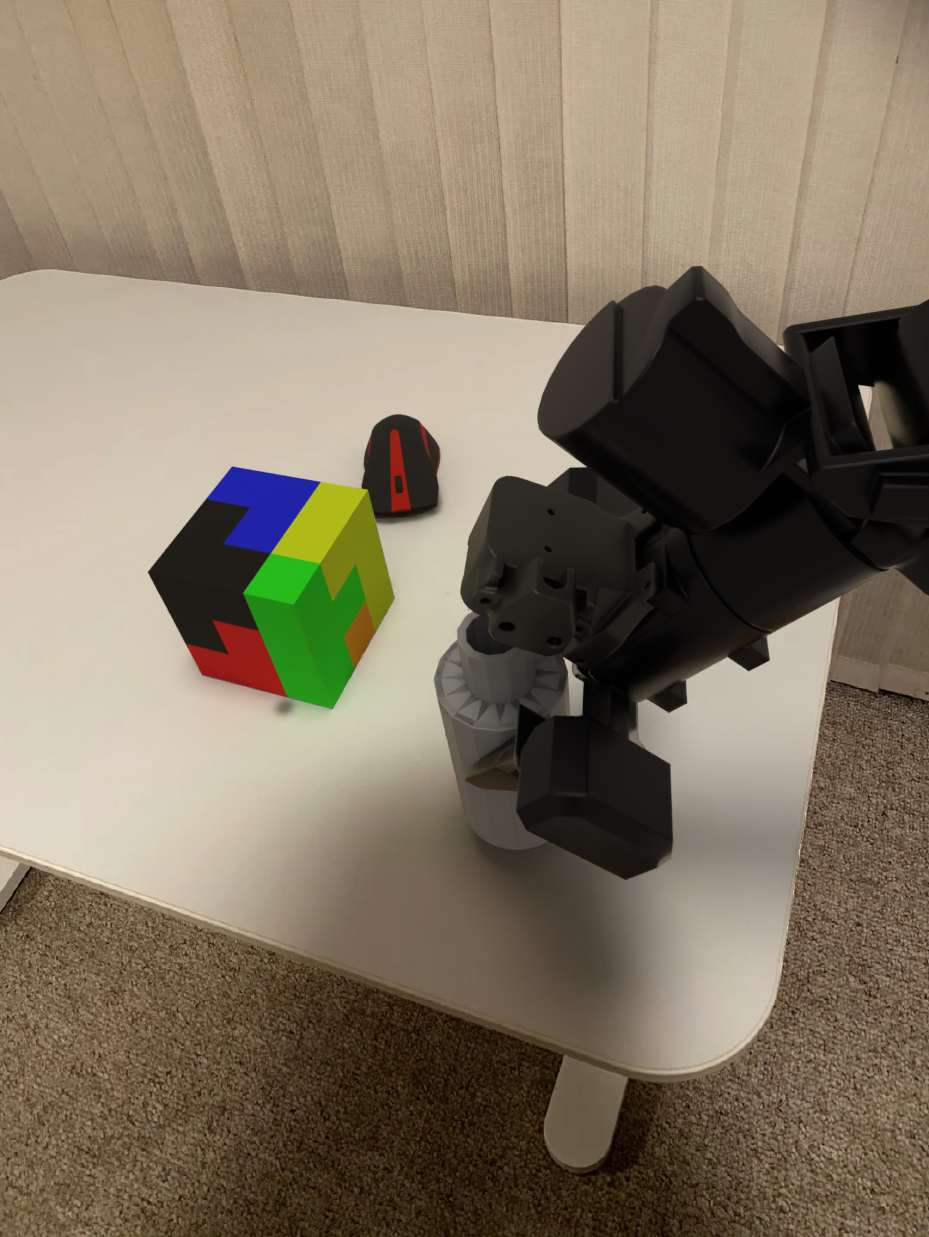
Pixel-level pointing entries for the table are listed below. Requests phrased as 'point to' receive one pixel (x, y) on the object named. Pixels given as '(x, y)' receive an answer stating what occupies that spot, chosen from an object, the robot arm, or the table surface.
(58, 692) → the table surface
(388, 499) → the computer mouse
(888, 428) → the robot arm
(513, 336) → the table surface
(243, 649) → the puzzle toy
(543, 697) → the flask
